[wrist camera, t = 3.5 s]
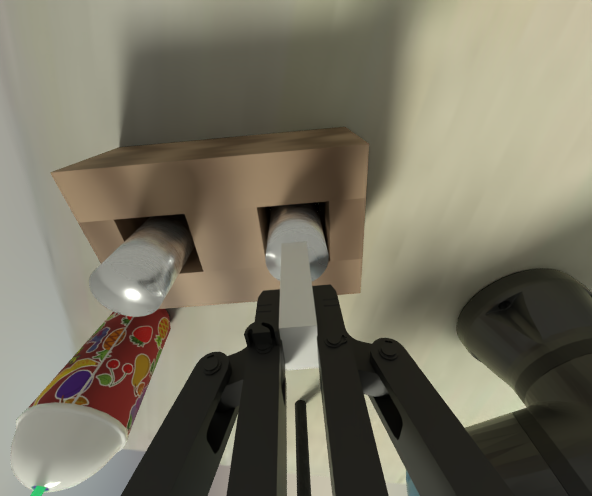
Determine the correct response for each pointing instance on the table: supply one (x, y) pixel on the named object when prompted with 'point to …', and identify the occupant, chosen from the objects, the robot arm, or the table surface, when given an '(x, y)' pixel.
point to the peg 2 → (296, 236)
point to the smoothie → (88, 404)
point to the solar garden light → (302, 450)
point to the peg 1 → (143, 266)
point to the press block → (227, 205)
